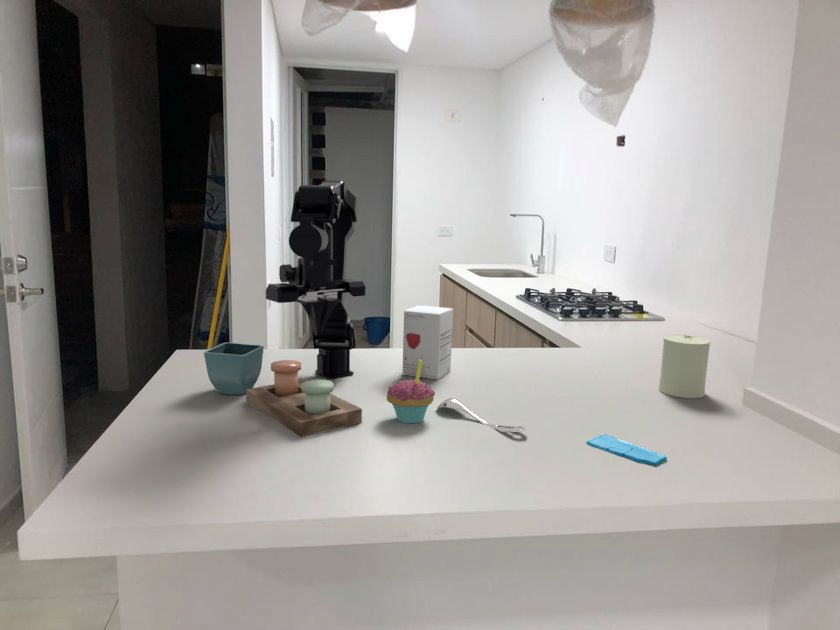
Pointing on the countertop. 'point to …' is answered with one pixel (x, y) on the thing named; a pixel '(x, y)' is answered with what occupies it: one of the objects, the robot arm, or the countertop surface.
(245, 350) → the flower pot
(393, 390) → the cupcake
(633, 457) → the blue flat block
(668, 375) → the can
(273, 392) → the panel
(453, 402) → the silver spoon
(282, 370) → the terracotta plunger
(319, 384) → the sage plunger
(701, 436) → the countertop surface
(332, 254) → the robot arm
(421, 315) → the supplement box
